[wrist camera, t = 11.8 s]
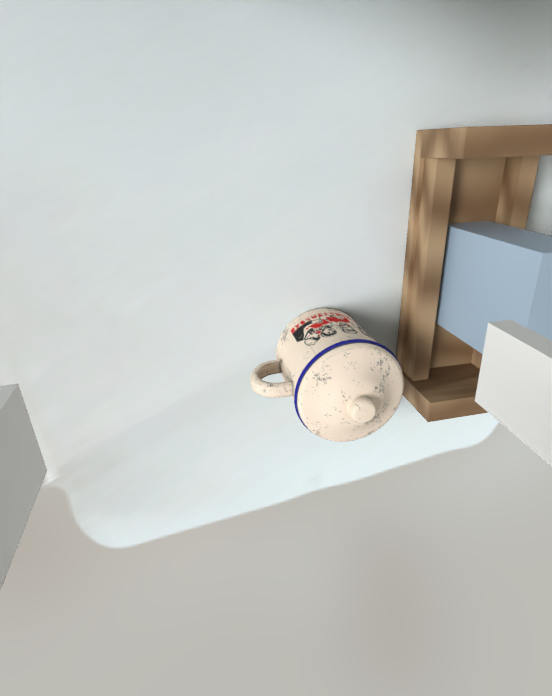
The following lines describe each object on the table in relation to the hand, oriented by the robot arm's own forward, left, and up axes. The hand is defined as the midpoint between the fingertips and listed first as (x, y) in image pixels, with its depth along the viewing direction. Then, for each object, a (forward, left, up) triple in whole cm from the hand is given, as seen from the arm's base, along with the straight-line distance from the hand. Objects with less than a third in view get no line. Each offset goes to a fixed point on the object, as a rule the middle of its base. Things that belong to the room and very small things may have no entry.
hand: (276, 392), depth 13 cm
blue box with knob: (+5, +23, -26) cm, 35 cm away
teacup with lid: (+12, +8, -27) cm, 30 cm away
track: (+5, +23, -27) cm, 35 cm away
